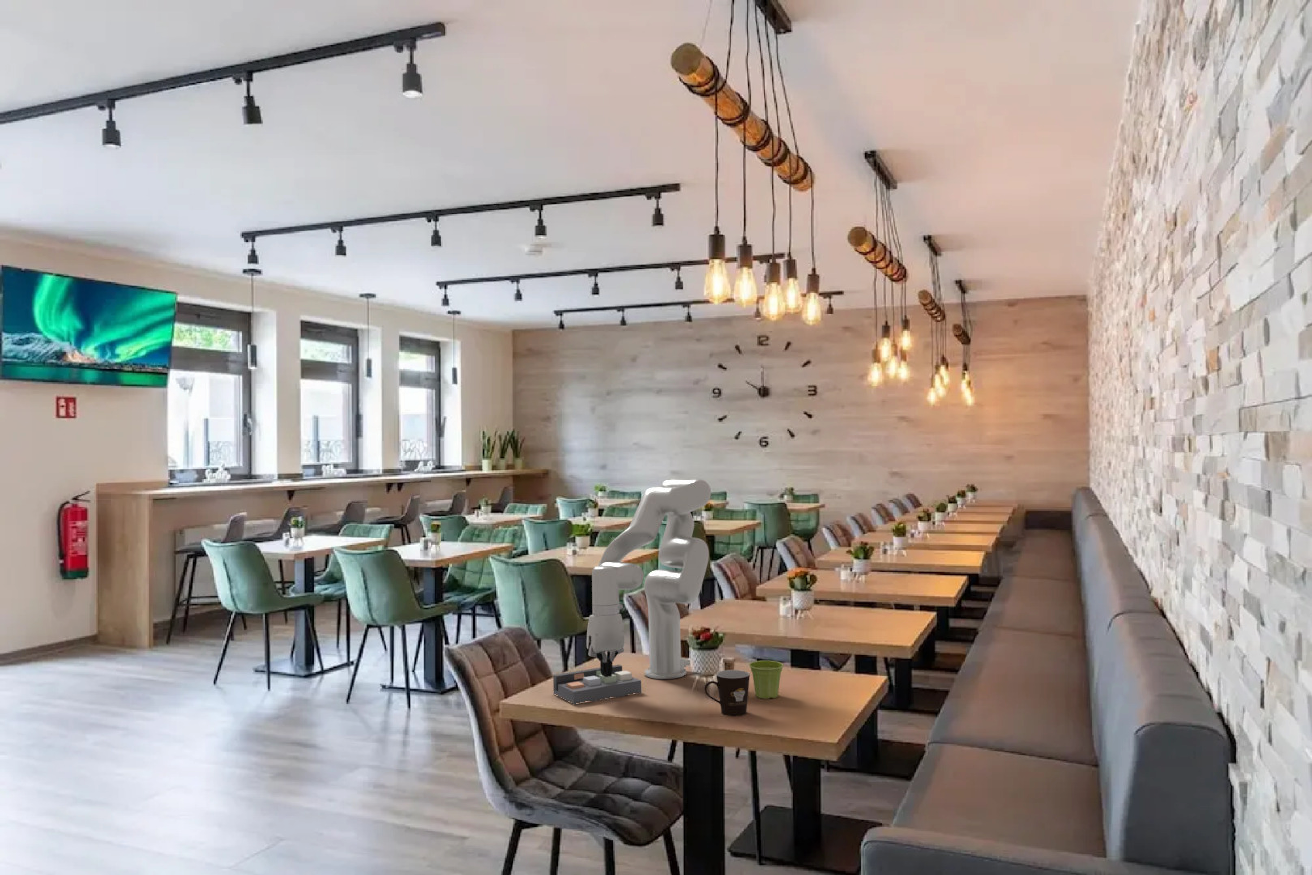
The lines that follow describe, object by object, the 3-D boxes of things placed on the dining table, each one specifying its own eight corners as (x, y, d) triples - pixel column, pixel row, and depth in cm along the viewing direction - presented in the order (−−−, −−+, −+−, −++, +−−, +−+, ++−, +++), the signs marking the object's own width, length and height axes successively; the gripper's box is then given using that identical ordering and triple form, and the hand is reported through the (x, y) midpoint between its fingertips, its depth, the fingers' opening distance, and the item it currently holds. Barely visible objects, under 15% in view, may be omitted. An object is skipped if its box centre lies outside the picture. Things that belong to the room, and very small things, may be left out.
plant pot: (788, 693, 262) (787, 662, 262) (778, 702, 253) (777, 669, 253) (756, 690, 266) (755, 659, 266) (745, 698, 257) (744, 666, 257)
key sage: (610, 681, 268) (610, 673, 268) (616, 684, 265) (616, 675, 265) (599, 683, 266) (598, 674, 266) (605, 686, 263) (604, 677, 263)
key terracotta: (578, 690, 263) (578, 681, 263) (584, 692, 260) (584, 684, 260) (566, 692, 261) (566, 683, 261) (572, 694, 258) (572, 686, 258)
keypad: (619, 683, 277) (618, 664, 277) (641, 692, 266) (641, 673, 266) (553, 694, 266) (553, 674, 266) (573, 704, 255) (573, 684, 255)
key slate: (594, 684, 266) (594, 675, 266) (600, 686, 263) (600, 678, 263) (583, 686, 264) (582, 677, 264) (588, 688, 261) (588, 680, 261)
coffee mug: (750, 708, 248) (749, 670, 248) (750, 717, 239) (749, 678, 239) (706, 707, 249) (705, 669, 249) (704, 717, 240) (703, 678, 241)
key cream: (625, 678, 271) (625, 670, 271) (631, 681, 268) (631, 673, 268) (614, 680, 269) (614, 672, 269) (620, 683, 266) (620, 674, 266)
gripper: (622, 605, 273) (623, 669, 272) (575, 610, 265) (576, 676, 265) (635, 609, 266) (636, 674, 266) (588, 614, 259) (588, 681, 258)
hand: (606, 675), depth 265 cm, fingers closed
